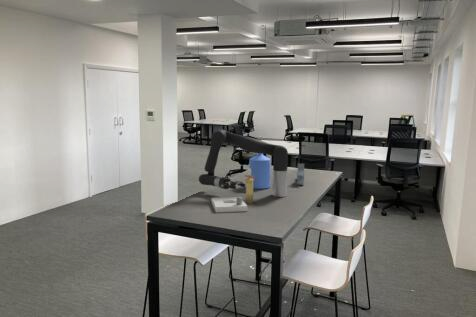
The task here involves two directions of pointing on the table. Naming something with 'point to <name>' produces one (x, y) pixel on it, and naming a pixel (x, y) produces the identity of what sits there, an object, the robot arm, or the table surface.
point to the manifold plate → (229, 204)
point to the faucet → (300, 174)
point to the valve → (249, 189)
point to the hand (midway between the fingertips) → (240, 186)
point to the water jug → (260, 171)
